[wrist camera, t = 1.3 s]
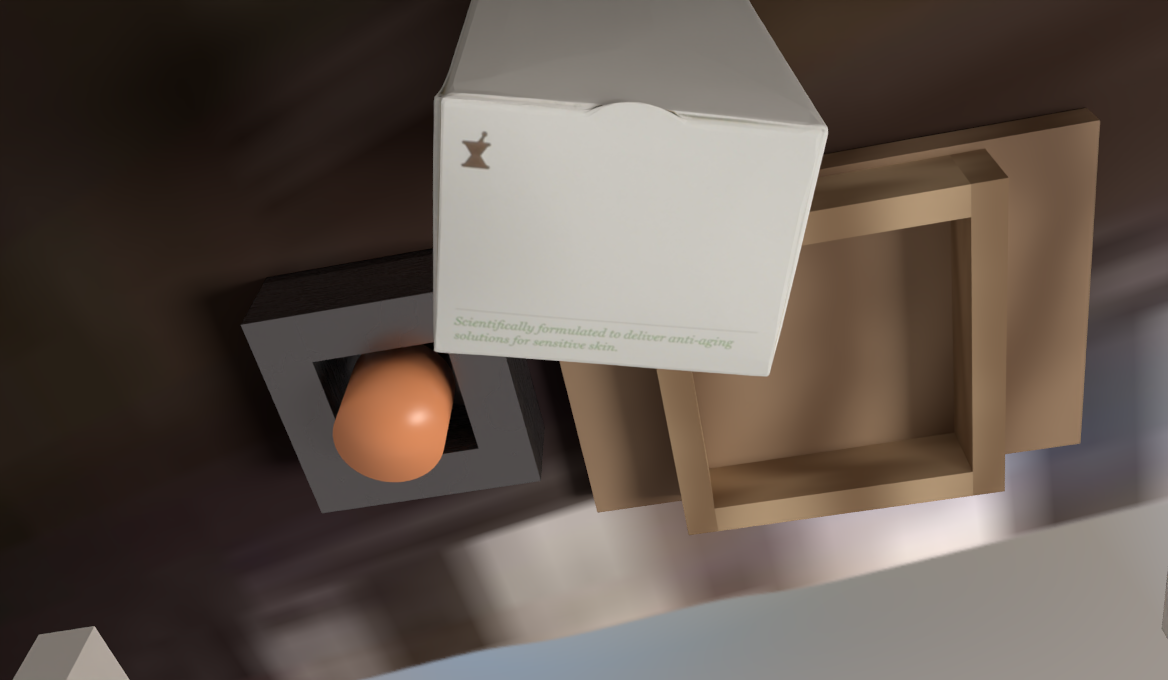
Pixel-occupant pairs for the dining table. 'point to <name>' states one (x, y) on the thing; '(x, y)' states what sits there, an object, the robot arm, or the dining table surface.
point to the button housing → (375, 323)
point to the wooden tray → (881, 342)
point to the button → (395, 413)
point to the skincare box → (620, 184)
